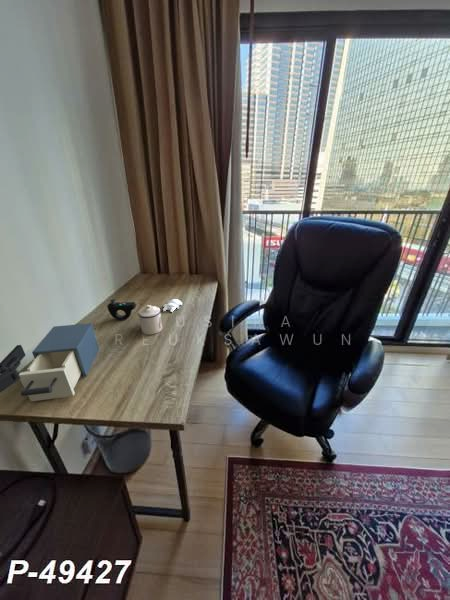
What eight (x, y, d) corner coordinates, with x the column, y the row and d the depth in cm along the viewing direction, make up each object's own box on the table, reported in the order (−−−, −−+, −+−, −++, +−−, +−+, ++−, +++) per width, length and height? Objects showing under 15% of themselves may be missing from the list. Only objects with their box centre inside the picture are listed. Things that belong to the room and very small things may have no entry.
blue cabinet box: (86, 376, 83) (76, 347, 78) (44, 381, 81) (31, 352, 76) (99, 349, 96) (91, 323, 91) (63, 353, 94) (53, 326, 89)
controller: (112, 317, 118) (107, 298, 113) (139, 315, 119) (135, 296, 115) (109, 322, 114) (104, 302, 110) (137, 320, 115) (133, 301, 111)
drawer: (66, 409, 70) (55, 383, 66) (21, 415, 68) (6, 389, 64) (88, 365, 86) (80, 341, 82) (52, 369, 85) (42, 345, 80)
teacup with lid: (164, 332, 106) (161, 308, 101) (142, 337, 103) (138, 312, 98) (159, 319, 116) (156, 296, 111) (139, 323, 113) (134, 300, 108)
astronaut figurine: (158, 311, 123) (157, 305, 122) (171, 300, 133) (171, 295, 132) (173, 314, 120) (173, 308, 119) (186, 303, 130) (185, 298, 129)
